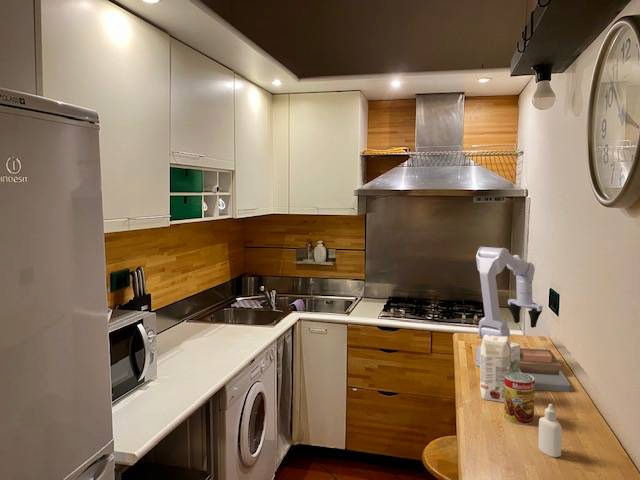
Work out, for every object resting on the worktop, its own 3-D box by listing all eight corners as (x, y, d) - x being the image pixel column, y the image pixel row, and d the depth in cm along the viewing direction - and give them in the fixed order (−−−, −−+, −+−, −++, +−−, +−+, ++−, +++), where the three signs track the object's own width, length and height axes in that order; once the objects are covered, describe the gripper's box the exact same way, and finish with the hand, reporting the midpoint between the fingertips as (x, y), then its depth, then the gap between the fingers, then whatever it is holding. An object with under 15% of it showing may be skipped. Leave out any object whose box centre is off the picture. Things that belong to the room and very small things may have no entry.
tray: (571, 392, 158) (571, 385, 158) (524, 388, 162) (524, 382, 161) (560, 376, 172) (561, 370, 172) (517, 373, 175) (517, 368, 175)
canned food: (518, 426, 135) (518, 383, 134) (497, 415, 142) (498, 374, 141) (540, 421, 138) (541, 379, 137) (519, 410, 145) (519, 370, 144)
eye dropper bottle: (555, 447, 124) (556, 400, 123) (562, 458, 118) (563, 409, 117) (537, 445, 125) (538, 399, 124) (542, 457, 119) (543, 408, 118)
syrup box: (503, 382, 168) (504, 339, 167) (519, 387, 163) (520, 343, 162) (493, 386, 164) (494, 342, 163) (509, 391, 160) (510, 347, 159)
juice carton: (508, 404, 150) (509, 342, 148) (479, 399, 153) (479, 339, 152) (510, 395, 157) (511, 335, 155) (482, 391, 160) (482, 333, 159)
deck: (560, 376, 172) (561, 365, 172) (517, 373, 175) (517, 362, 175) (549, 360, 189) (550, 349, 189) (510, 357, 193) (510, 347, 192)
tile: (551, 362, 175) (551, 356, 175) (524, 360, 177) (524, 355, 177) (547, 356, 181) (548, 351, 181) (521, 355, 183) (521, 349, 183)
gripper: (547, 292, 193) (547, 326, 195) (515, 286, 206) (516, 318, 207) (535, 296, 190) (536, 330, 191) (504, 290, 202) (505, 322, 204)
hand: (525, 324), depth 199 cm, fingers open, 7 cm apart
